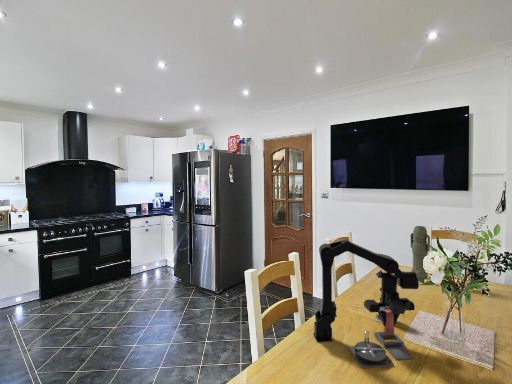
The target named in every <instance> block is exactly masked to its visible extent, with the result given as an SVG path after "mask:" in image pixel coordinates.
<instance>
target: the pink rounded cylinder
mask: <svg viewBox="0 0 512 384" xmlns="http://www.w3.org/2000/svg"><path fill="white" fill-rule="evenodd" d="M385 311H386V312H387V313H386V315H385V317H386V325H385V326H384V325H383V332H384V333H385V334H387V335H394V333H395V325H394V314H393V313H392V311H391V310H385Z"/></svg>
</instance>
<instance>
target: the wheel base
mask: <svg viewBox="0 0 512 384" xmlns="http://www.w3.org/2000/svg"><path fill="white" fill-rule="evenodd" d="M347 348H348V350H349V351H350V353H351V354H352V356H353V357H354V360H356V362H357V364H358V365H359V366H360V368H361V369H368V368H369V369H370V368H383V367H384V368H385V367H386V368H387V367H395V363H393V361H392V360H391V359H390V358H389V357H388V356H387V354H386V358H385V359H384V360H383V361H380V362H371V361H367V360H364V359H362V358H361V357H359V356H358V355H357V354H356V353H355V345H350V346H348V347H347Z"/></svg>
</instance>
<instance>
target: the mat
mask: <svg viewBox="0 0 512 384" xmlns="http://www.w3.org/2000/svg"><path fill="white" fill-rule="evenodd" d="M385 350H387V351H388V353H390V356H392V357H393V359H395V361H402V360H404V361H405V360H415V357H414V356H413V355H412V354H411V353H410V352H409V350H407V349H406V348H405V347H390V348H385Z"/></svg>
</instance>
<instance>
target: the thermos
mask: <svg viewBox="0 0 512 384" xmlns="http://www.w3.org/2000/svg"><path fill="white" fill-rule="evenodd" d="M409 237H410V248H411V249H412V250H411V252H412V268H411V271H413V272H415V273H416V276H417V279H418V281H422V282H421V283H425V282H424V279H426V278H427V277H428V275H429V272H428V273H426V272H425V270H424V268H423V259H424V257H425V256H427V257H428V255H429V252H430V250H431V236H430V234H428V230H427V228H426V227H425V226H422V225H416V226H414V228H413V231H412V233H411V234H410V236H409ZM427 279H428V278H427Z"/></svg>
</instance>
